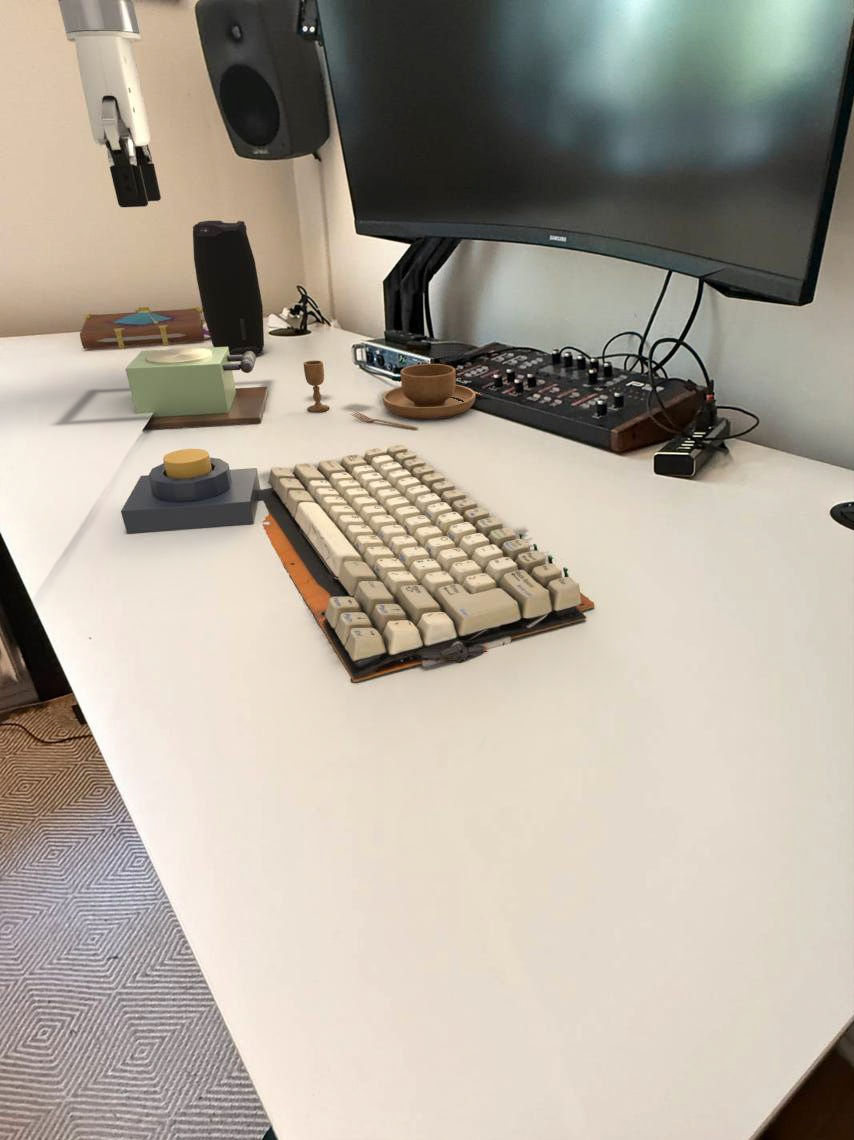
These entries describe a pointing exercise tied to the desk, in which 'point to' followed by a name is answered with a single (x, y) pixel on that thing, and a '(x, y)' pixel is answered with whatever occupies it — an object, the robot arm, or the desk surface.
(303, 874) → the desk surface
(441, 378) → the place setting
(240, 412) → the brown wooden board
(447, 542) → the mechanical keyboard
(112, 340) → the book
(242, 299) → the portable speaker
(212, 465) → the grey mounting base
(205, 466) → the bell button
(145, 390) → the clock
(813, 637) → the desk surface
